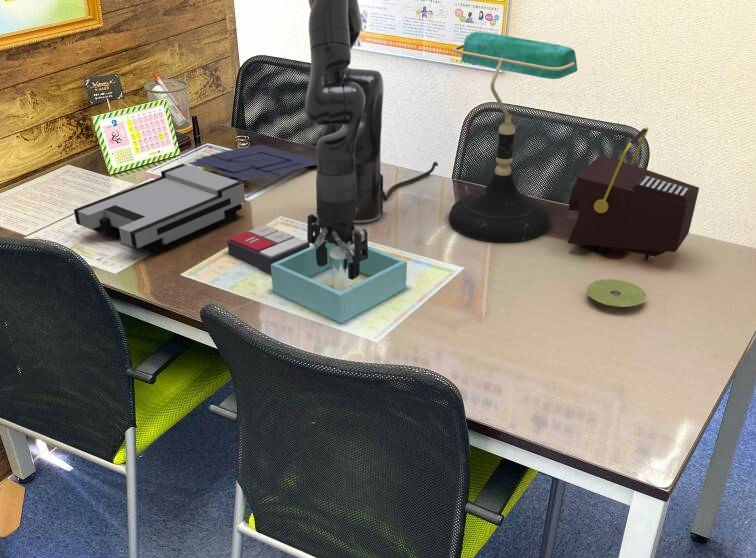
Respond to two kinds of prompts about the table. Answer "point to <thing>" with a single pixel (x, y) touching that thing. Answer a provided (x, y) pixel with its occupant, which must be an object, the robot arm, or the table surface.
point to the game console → (165, 209)
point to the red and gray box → (265, 246)
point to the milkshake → (339, 269)
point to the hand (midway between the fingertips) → (337, 271)
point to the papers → (254, 162)
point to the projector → (630, 207)
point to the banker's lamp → (507, 141)
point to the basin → (328, 301)
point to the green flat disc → (616, 293)
